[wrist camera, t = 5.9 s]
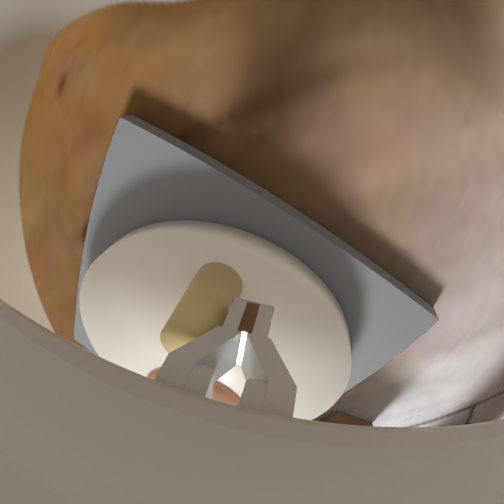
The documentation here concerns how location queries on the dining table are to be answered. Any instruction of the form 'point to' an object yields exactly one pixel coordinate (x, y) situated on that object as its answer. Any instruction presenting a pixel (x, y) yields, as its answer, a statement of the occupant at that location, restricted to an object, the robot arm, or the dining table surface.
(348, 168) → the dining table surface
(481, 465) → the robot arm
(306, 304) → the white low round dome
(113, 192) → the base board
